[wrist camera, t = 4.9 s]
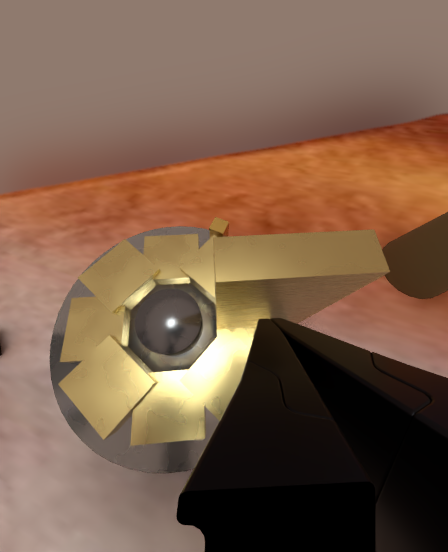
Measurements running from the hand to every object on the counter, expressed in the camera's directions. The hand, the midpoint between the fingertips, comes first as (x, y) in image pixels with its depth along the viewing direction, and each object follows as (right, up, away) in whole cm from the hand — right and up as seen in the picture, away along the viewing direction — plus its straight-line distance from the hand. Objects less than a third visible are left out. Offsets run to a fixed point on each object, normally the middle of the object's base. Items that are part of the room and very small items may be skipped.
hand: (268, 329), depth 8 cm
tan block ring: (-5, -2, +9) cm, 10 cm away
